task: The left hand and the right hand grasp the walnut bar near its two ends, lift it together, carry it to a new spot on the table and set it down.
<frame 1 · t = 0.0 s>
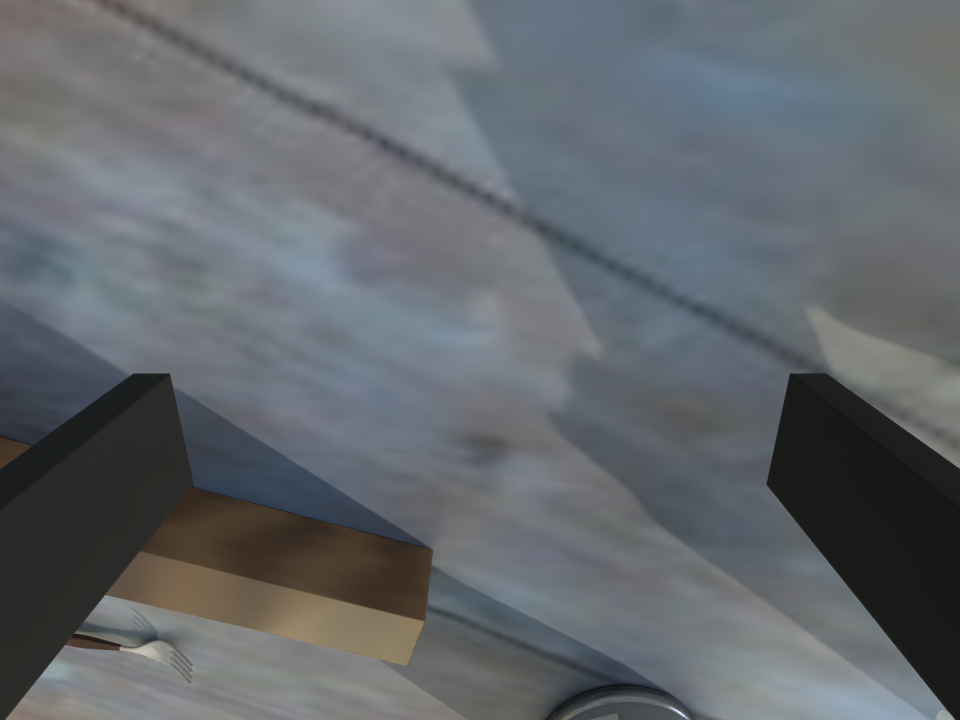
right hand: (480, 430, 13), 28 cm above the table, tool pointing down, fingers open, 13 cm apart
fork: (112, 639, 52), on the table
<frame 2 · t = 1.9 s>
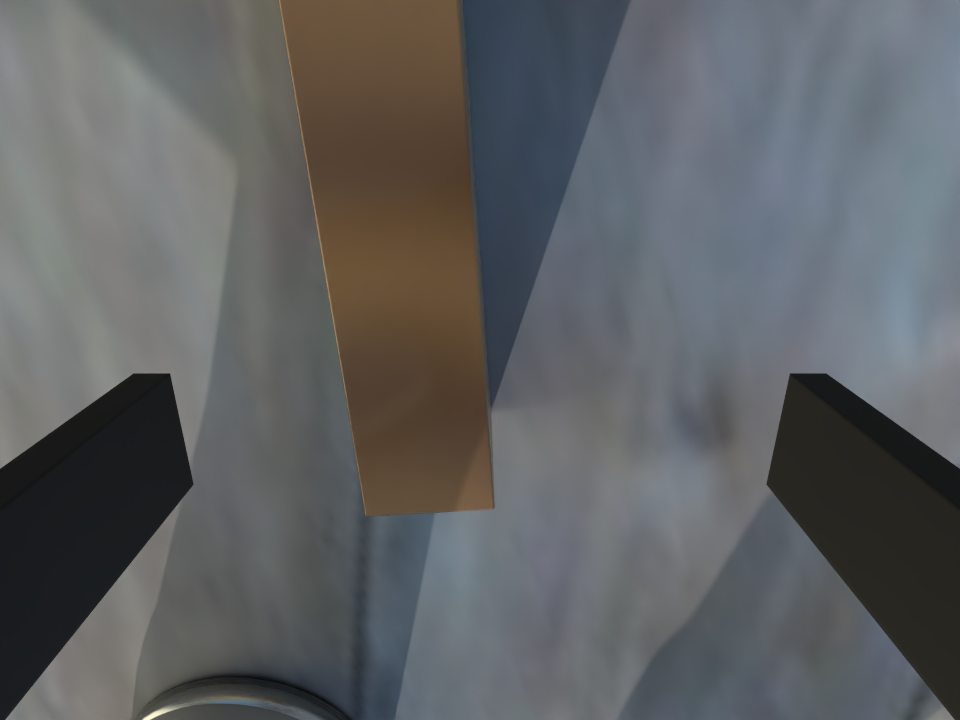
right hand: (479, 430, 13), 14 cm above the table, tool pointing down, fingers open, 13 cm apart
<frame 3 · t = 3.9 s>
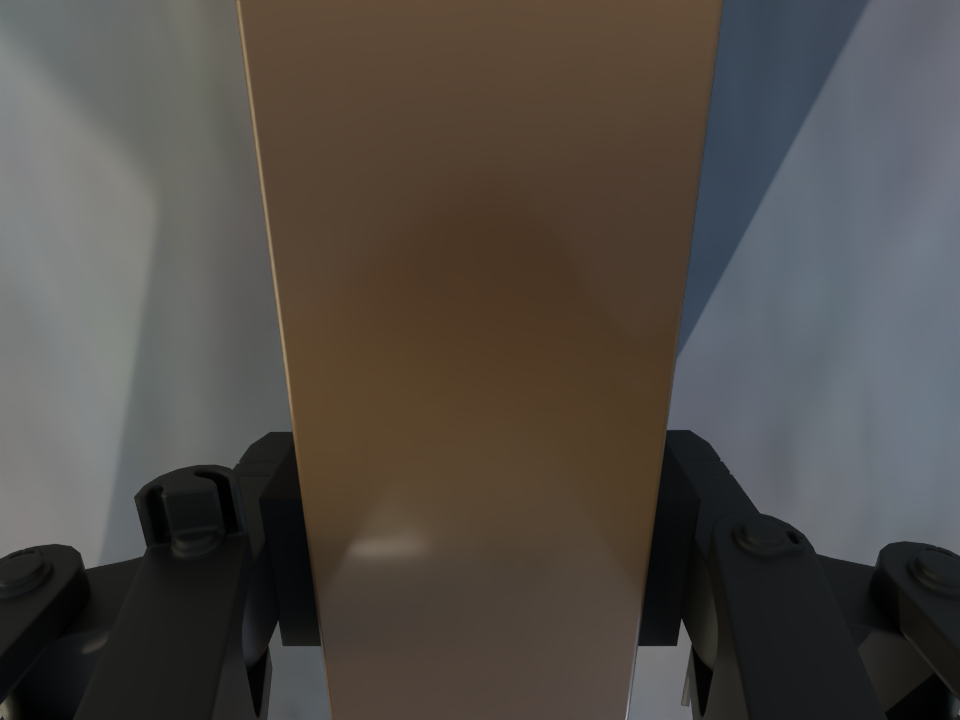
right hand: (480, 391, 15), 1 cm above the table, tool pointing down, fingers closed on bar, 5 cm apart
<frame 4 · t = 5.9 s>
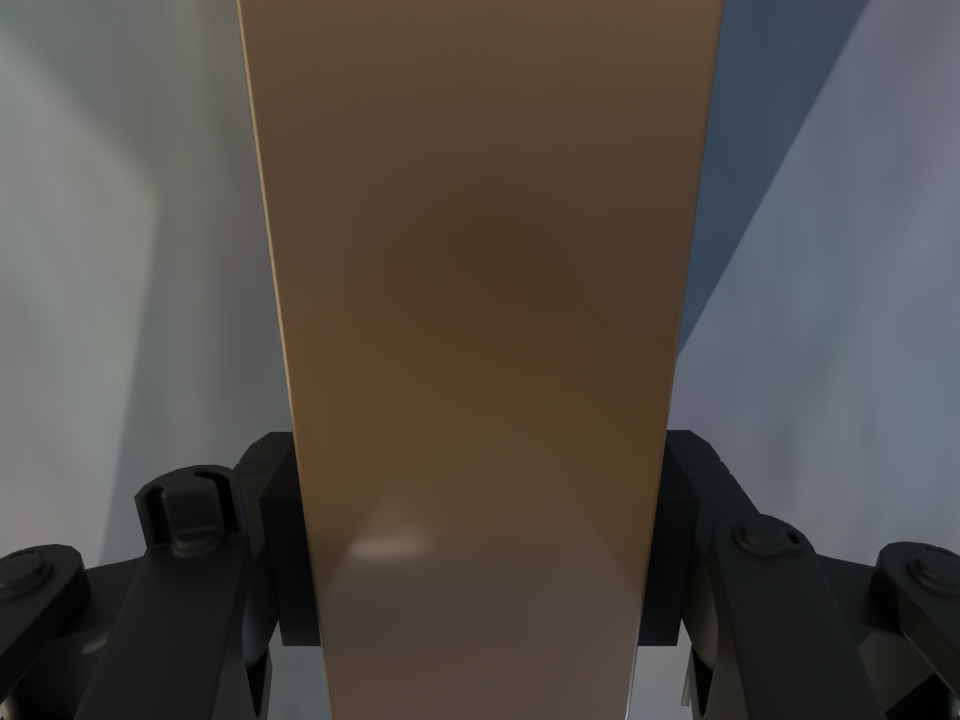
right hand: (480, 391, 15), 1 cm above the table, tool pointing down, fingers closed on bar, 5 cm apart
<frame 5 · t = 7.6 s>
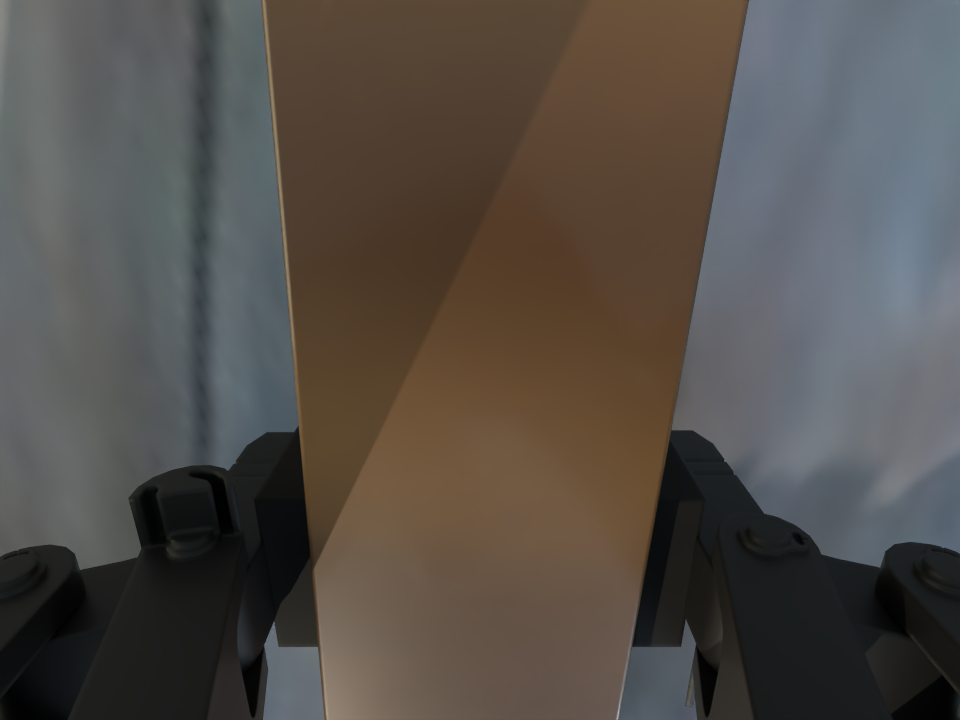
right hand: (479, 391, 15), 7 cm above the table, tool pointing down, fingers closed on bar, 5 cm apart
when the left hand's fingers open (2 cm above the table, at t = 9.2 s): bar drops 2 cm, on the table.
when the right hand's fingers open (3 cm above the table, at t = 9.2 s): bar drops 2 cm, on the table.
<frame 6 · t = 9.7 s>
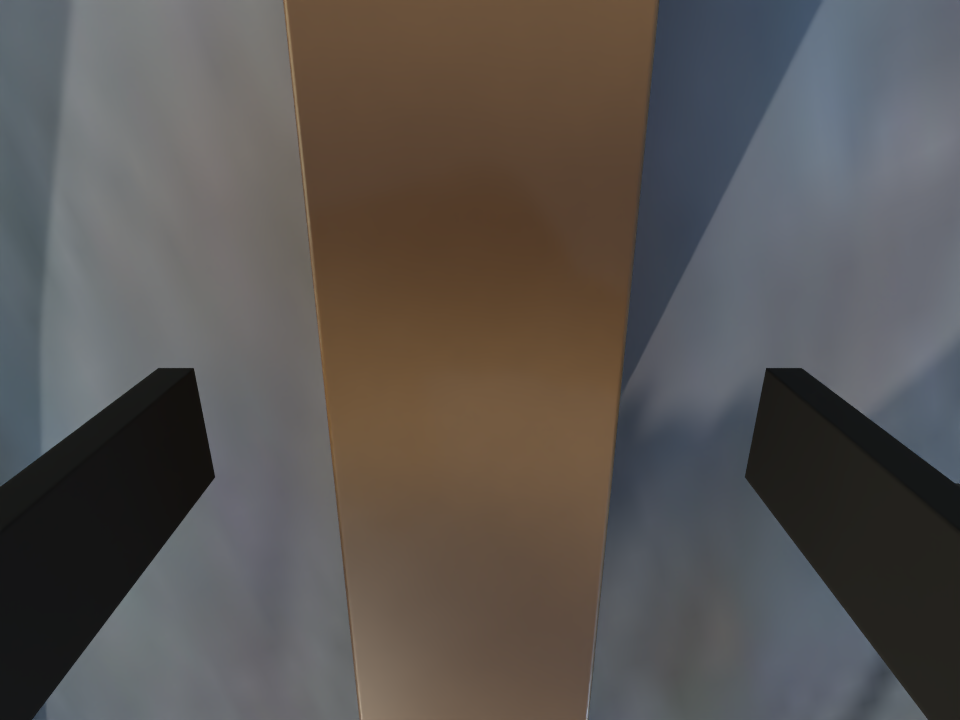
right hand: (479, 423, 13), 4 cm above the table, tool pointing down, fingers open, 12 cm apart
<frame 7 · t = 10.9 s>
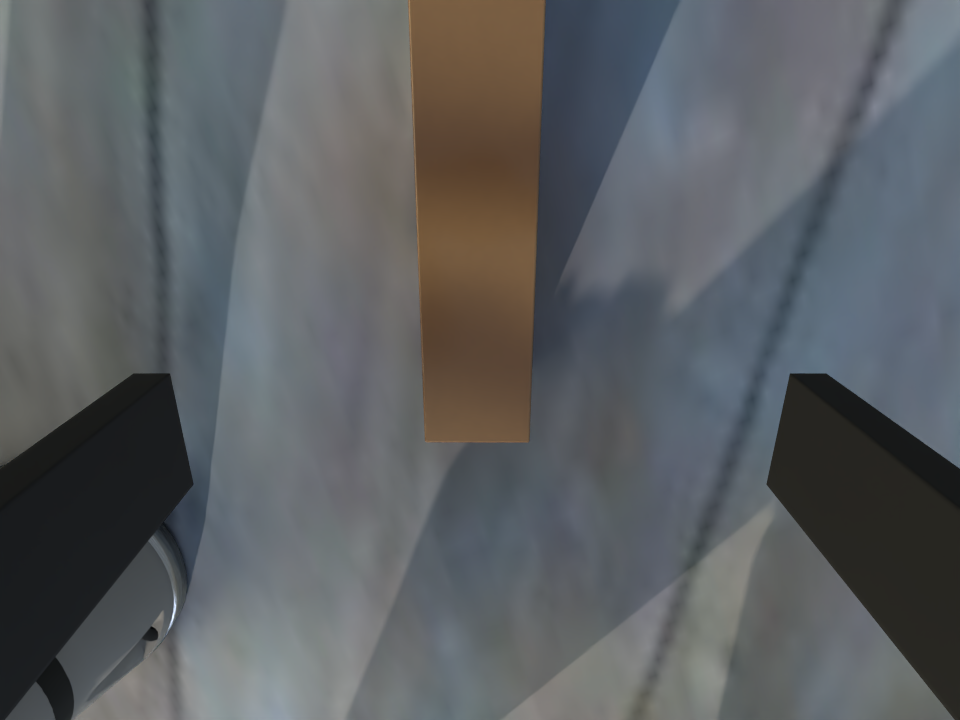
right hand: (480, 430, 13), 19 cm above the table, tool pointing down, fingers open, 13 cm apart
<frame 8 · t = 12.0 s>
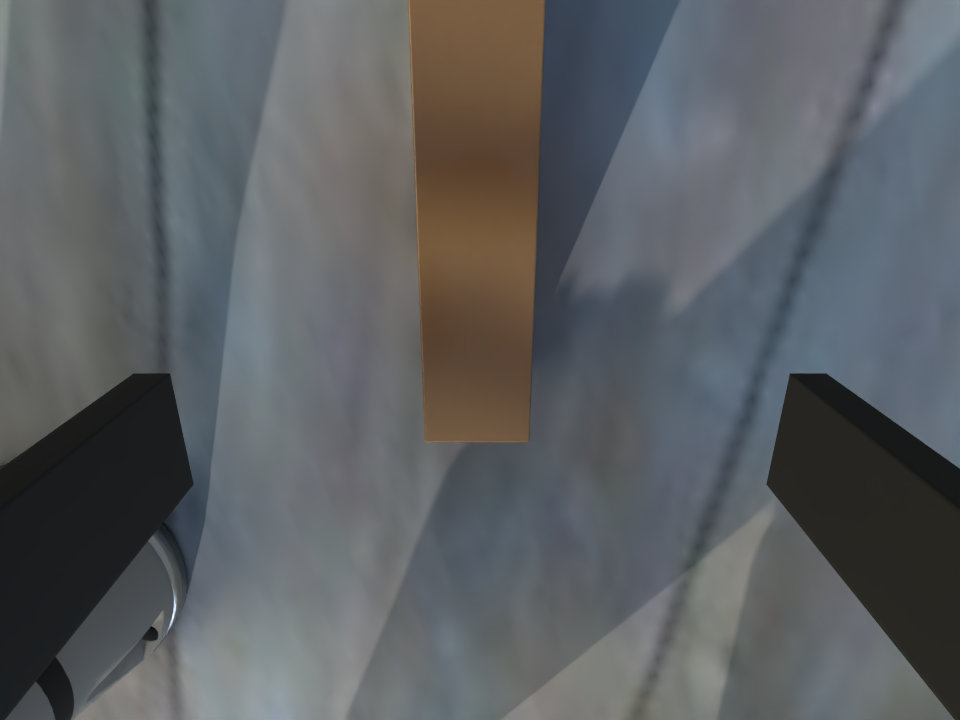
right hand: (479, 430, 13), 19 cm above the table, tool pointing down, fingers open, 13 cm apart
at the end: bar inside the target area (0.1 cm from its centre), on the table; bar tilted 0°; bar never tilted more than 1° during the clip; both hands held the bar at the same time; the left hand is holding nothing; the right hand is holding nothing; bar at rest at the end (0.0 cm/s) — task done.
